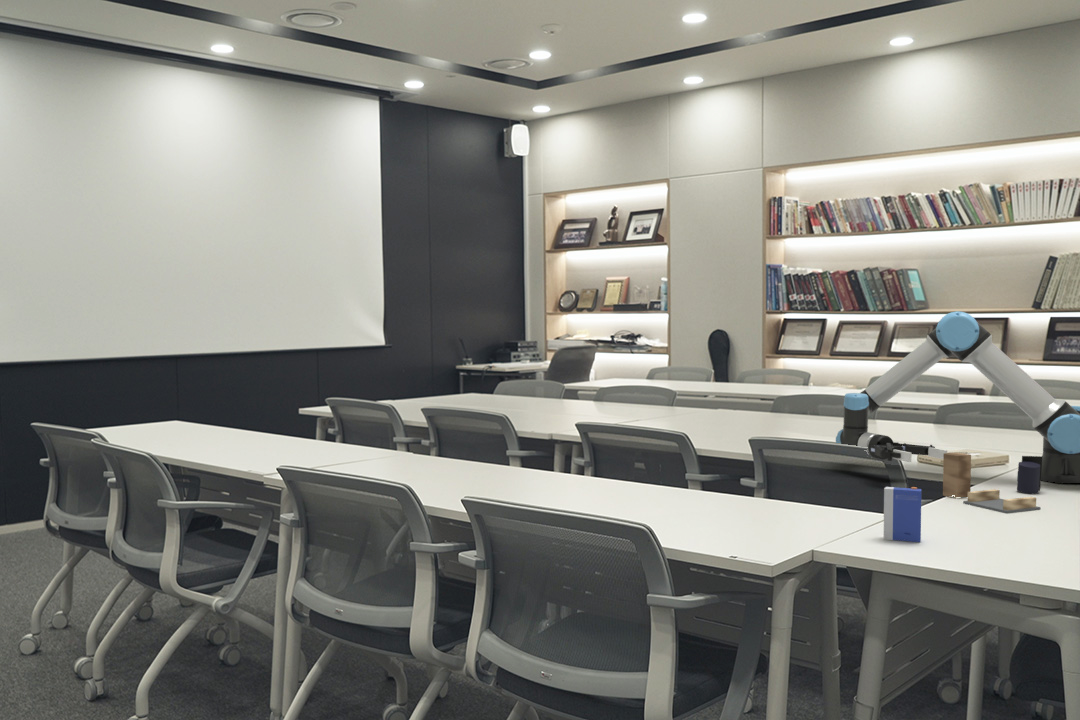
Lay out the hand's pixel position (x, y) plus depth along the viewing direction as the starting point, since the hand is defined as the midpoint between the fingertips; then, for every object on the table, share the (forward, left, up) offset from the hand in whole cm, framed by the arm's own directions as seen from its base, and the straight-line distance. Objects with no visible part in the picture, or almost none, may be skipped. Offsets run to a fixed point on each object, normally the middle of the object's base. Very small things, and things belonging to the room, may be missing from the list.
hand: (928, 456), depth 268 cm
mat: (0, +25, -10) cm, 27 cm away
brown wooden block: (0, +10, -10) cm, 14 cm away
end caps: (0, +25, -10) cm, 27 cm away
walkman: (+51, +43, -10) cm, 67 cm away
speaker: (-24, +14, -10) cm, 30 cm away
